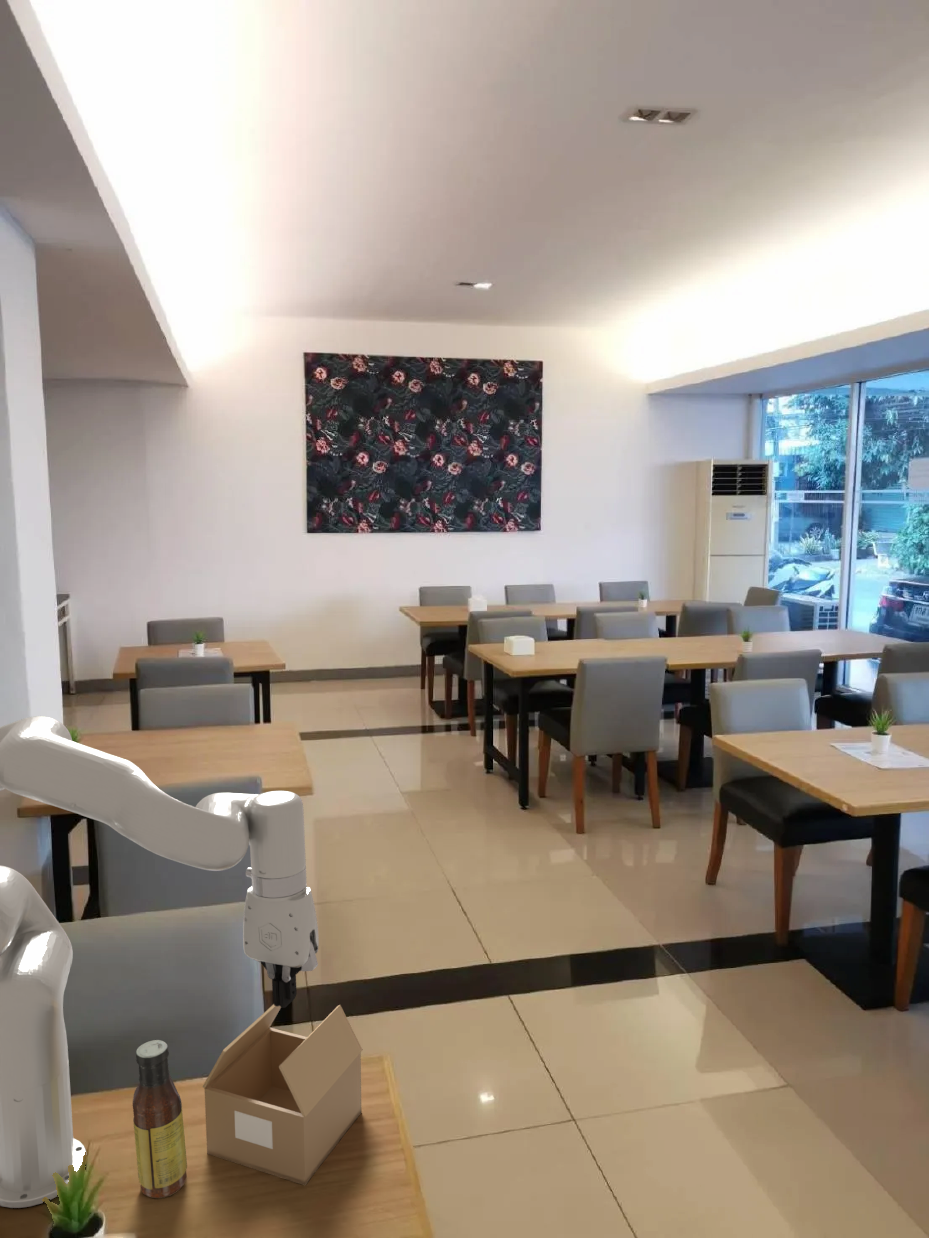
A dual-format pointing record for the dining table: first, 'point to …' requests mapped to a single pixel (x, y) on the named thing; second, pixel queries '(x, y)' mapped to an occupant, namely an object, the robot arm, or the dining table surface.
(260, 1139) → the carton
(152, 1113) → the sauce bottle
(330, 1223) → the dining table surface
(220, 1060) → the flap
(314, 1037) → the flap
